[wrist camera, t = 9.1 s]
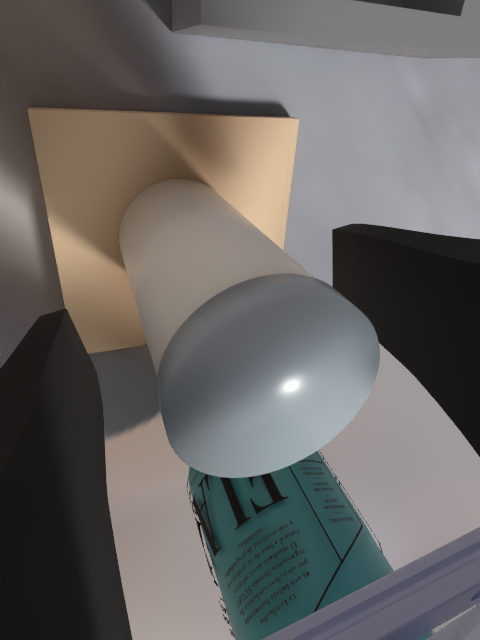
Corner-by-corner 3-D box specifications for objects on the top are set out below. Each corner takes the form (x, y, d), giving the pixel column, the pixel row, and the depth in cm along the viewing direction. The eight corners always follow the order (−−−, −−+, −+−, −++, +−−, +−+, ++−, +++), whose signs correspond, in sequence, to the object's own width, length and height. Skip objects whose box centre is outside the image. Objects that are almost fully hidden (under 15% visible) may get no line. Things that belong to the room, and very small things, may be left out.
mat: (290, 116, 14) (299, 118, 13) (268, 319, 18) (273, 325, 17) (28, 107, 11) (27, 109, 11) (73, 346, 15) (74, 355, 15)
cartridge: (234, 167, 13) (397, 271, 7) (240, 280, 15) (364, 439, 9) (102, 185, 12) (143, 330, 6) (129, 304, 14) (182, 503, 8)
